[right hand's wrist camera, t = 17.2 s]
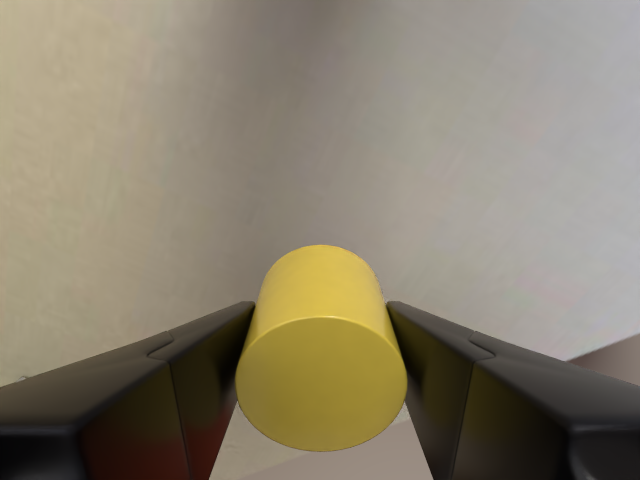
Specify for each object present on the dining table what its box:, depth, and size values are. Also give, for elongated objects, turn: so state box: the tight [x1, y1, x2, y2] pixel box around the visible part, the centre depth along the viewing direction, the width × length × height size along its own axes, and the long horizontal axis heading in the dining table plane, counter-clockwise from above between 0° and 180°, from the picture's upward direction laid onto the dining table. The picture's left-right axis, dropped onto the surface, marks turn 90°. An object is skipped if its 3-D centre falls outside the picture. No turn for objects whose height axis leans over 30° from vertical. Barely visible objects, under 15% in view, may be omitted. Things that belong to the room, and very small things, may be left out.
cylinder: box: [235, 245, 407, 452], centre depth 11 cm, size 4×4×4 cm
